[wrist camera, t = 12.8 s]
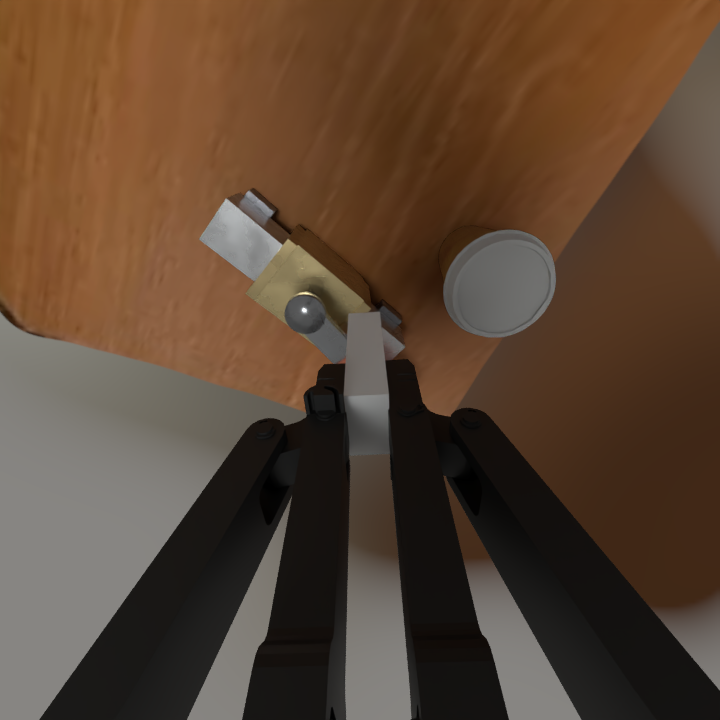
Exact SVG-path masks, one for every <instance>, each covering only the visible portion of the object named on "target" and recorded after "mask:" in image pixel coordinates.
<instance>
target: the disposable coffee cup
mask: <svg viewBox="0 0 720 720" xmlns="http://www.w3.org/2000/svg"><path fill="white" fill-rule="evenodd" d="M439 265H440V269H441V273H442V277H443V282H444V286H443V294H444V303H445V306H446V309H447V312H448V314H449V315H450V317H451V318H452V320H453V321H454V322H455V323H456V324H457V325H458V326H459V327H460V328H462V329H464V330H465V331H467V332H469V333H472V334H475V335H479V336H485V337H505V336H509V335H513V334H515V333H518V332H520V331H522V330H524V329H525V328H526V327H528V326H530V325H531V324H532V323H534V322H535V321H536V320H537V319H538V318H539V317H540V316H541V315H542V314H543V313H544V311H545V310H546V308H547V307H548V305H549V304H550V301H551V299H552V297H553V294H554V290H555V283H556V274H555V266H554V262H553V258H552V255H551V253H550V252H549V250H548V249H547V247H546V245H544V244H543V243H542V242H541V241H540V240H539V239H538V238H536V237H535V236H533V235H531V234H529V233H526V232H523V231H518V230H499V231H496V230H492V229H487V228H482V227H478V226H464V227H461V228H459V229H457V230H455V231H453V232H452V233H451V234H449V235H448V237H447V238H446V239H445V240H444V242H443V244H442V245H441V248H440V251H439Z"/></svg>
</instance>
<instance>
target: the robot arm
mask: <svg viewBox="0 0 720 720" xmlns="http://www.w3.org/2000/svg"><path fill="white" fill-rule="evenodd" d="M304 402H305V408H306V414H307V417H306V418H304V419H303V420H301V421H299V422H297V423H294V424H290V425H286V426H284V423H282V422H281V421H280V420H277V419H274V418H268V419H263V420H259V421H257V422H255V423H253V424H252V425H251V426H250V427H249V428H248V429H247V430H246V431H245V433H244V434H243V435H242V437H241V438H240V440H239V441H238V442H237V444H236V445H235V447H234V448H233V449H232V451H231V452H230V454H229V455H228V457H227V458H226V459H225V461H224V462H223V464H222V465H221V467H220V468H219V469H218V471H217V472H216V473H215V475H214V476H213V477H212V479H211V480H210V482H209V483H208V485H207V486H206V487H205V489H204V490H203V491H202V493H201V494H200V496H199V497H198V498H197V500H196V501H195V503H194V504H193V505H192V507H191V508H190V510H189V511H188V513H187V514H186V515H185V517H184V518H183V520H182V521H181V522H180V524H179V525H178V526H177V528H176V529H175V531H174V532H173V534H172V535H171V536H170V538H169V539H168V541H167V542H166V543H165V545H164V546H163V547H162V549H161V550H160V552H159V553H158V554H157V556H156V557H155V559H154V560H153V561H152V563H151V564H150V566H149V567H148V568H147V570H146V571H145V573H144V574H143V575H142V577H141V578H140V580H139V581H138V582H137V584H136V585H135V587H134V588H133V589H132V591H131V592H130V594H129V595H128V596H127V598H126V599H125V601H124V602H123V603H122V605H121V606H120V608H119V609H118V610H117V612H116V613H115V615H114V616H113V617H112V619H111V621H110V622H109V623H108V624H107V626H106V627H105V629H104V630H103V631H102V633H101V634H100V636H99V637H98V638H97V640H96V641H95V643H94V644H93V645H92V647H91V648H90V650H89V651H88V653H87V654H86V655H85V657H84V658H83V659H82V661H81V662H80V664H79V665H78V666H77V668H76V670H75V671H74V672H73V673H72V675H71V676H70V678H69V679H68V680H67V682H66V683H65V685H64V686H63V687H62V689H61V690H60V692H59V693H58V694H57V696H56V697H55V699H54V700H53V701H52V703H51V704H50V706H49V707H48V708H47V710H46V711H45V713H44V714H43V715H42V717H41V718H40V720H187V718H188V716H189V713H190V712H191V709H192V707H193V705H194V703H195V701H196V699H197V697H198V695H199V692H200V690H201V688H202V686H203V684H204V682H205V679H206V677H207V675H208V673H209V671H210V669H211V667H212V665H213V662H214V660H215V658H216V656H217V654H218V652H219V650H220V648H221V645H222V643H223V641H224V639H225V637H226V635H227V633H228V631H229V628H230V626H231V624H232V622H233V620H234V617H235V616H236V613H237V611H238V609H239V607H240V605H241V603H242V601H243V599H244V596H245V594H246V592H247V590H248V588H249V586H250V583H251V581H252V579H253V577H254V575H255V573H256V571H257V569H258V567H259V564H260V562H261V560H262V558H263V556H264V554H265V551H266V549H267V547H268V545H269V543H270V541H271V539H272V537H273V534H274V532H275V530H276V528H277V526H278V524H279V522H280V520H281V517H282V515H283V513H284V511H285V509H286V507H287V505H288V503H289V500H290V498H291V496H292V499H291V505H290V511H289V516H288V522H287V527H286V533H285V538H284V544H283V549H282V555H281V561H280V566H279V572H278V577H277V583H276V588H275V594H274V599H273V605H272V610H271V617H270V622H269V627H268V632H267V636H266V638H265V641H264V642H263V643H262V644H261V645H260V646H259V648H258V650H257V653H256V655H255V660H254V664H253V668H252V673H251V678H250V683H249V688H248V693H247V698H246V703H245V708H244V713H243V719H242V720H346V704H345V663H346V622H347V580H348V539H349V538H348V537H349V496H350V460H349V453H350V456H351V455H373V454H390V470H391V480H392V489H393V501H394V511H395V523H396V535H397V546H398V558H399V569H400V580H401V592H402V603H403V613H404V625H405V637H406V648H407V660H408V671H409V683H410V696H411V697H410V698H411V716H412V719H411V720H509V718H508V714H507V710H506V707H505V702H504V698H503V694H502V690H501V686H500V683H499V679H498V674H497V670H496V666H495V662H494V659H493V655H492V652H491V648H490V646H489V644H488V641H487V639H486V638H485V637H484V636H483V635H482V633H481V631H480V628H479V624H478V621H477V616H476V612H475V608H474V604H473V600H472V595H471V591H470V587H469V583H468V579H467V574H466V570H465V566H464V562H463V558H462V553H461V549H460V545H459V541H458V536H457V533H456V528H455V524H454V519H453V515H452V511H451V507H450V502H449V498H448V494H447V490H446V486H445V481H444V477H443V475H444V476H446V478H447V481H448V482H449V484H450V486H451V488H452V490H453V491H454V493H455V495H456V497H457V499H458V500H459V502H460V504H461V506H462V508H463V509H464V511H465V513H466V515H467V516H468V518H469V520H470V522H471V524H472V525H473V527H474V529H475V530H476V532H477V534H478V536H479V538H480V539H481V541H482V543H483V545H484V547H485V548H486V550H487V552H488V554H489V556H490V557H491V559H492V561H493V563H494V565H495V566H496V568H497V570H498V572H499V573H500V575H501V577H502V579H503V580H504V582H505V584H506V586H507V587H508V589H509V591H510V593H511V595H512V596H513V598H514V600H515V602H516V604H517V605H518V607H519V609H520V611H521V613H522V614H523V616H524V618H525V620H526V621H527V623H528V625H529V627H530V629H531V630H532V632H533V634H534V636H535V637H536V639H537V641H538V643H539V645H540V646H541V648H542V650H543V652H544V653H545V655H546V657H547V659H548V660H549V662H550V664H551V666H552V668H553V669H554V671H555V673H556V675H557V676H558V678H559V680H560V682H561V684H562V686H563V687H564V689H565V691H566V692H567V694H568V696H569V698H570V700H571V701H572V703H573V705H574V707H575V709H576V710H577V712H578V714H579V716H580V718H581V719H582V720H720V690H719V689H718V688H717V687H716V686H715V684H714V683H713V682H712V681H711V680H710V679H709V677H708V676H707V675H706V674H705V673H704V671H703V670H702V669H701V668H700V667H699V665H698V664H697V663H696V662H695V661H694V660H693V658H691V656H690V655H689V654H688V652H687V651H686V650H685V649H684V648H683V646H682V645H681V644H680V643H679V642H678V640H677V639H676V638H675V637H674V636H673V634H672V633H671V632H670V631H669V630H668V629H667V627H666V626H665V625H664V624H663V623H662V621H661V620H660V619H659V618H658V617H657V616H656V614H655V613H654V612H653V611H652V610H651V608H650V607H649V606H648V605H647V604H646V602H645V601H644V600H643V599H642V598H641V596H640V595H639V594H638V593H637V592H636V590H635V589H634V588H633V587H632V586H631V584H630V583H629V582H628V581H627V580H626V579H625V577H624V576H623V575H622V574H621V573H620V571H619V570H618V569H617V568H616V567H615V565H614V564H613V563H612V562H611V561H610V560H609V558H608V557H607V556H606V555H605V554H604V552H603V551H602V550H601V549H600V548H599V546H598V545H597V544H596V543H595V542H594V541H593V539H592V538H591V537H590V536H589V535H588V533H587V532H586V531H585V530H584V529H583V528H582V526H581V525H580V524H579V523H578V521H577V520H576V519H575V518H574V517H573V515H572V514H571V513H570V512H569V511H568V510H567V508H566V507H565V506H564V505H563V504H562V502H560V500H559V499H558V498H557V496H556V495H555V494H554V493H553V492H552V490H550V488H549V487H548V486H547V485H546V483H545V482H544V481H543V480H542V479H541V477H540V476H539V475H538V474H537V473H536V471H535V470H534V469H533V468H532V467H531V466H530V464H529V463H528V462H527V461H526V460H525V458H524V457H523V456H522V455H521V454H520V452H519V451H518V450H517V449H516V448H515V446H514V445H513V444H512V443H511V442H510V441H509V439H508V438H507V437H506V436H505V434H504V433H503V432H502V431H501V430H500V429H499V427H498V426H497V425H496V424H495V423H494V421H493V420H492V419H491V418H490V417H489V416H488V415H487V414H486V413H484V412H482V411H480V410H478V409H473V408H461V409H459V410H456V411H455V412H454V413H453V414H452V415H451V417H448V416H442V415H438V414H435V413H433V412H431V411H429V410H428V409H427V407H426V406H425V404H423V402H422V398H421V393H420V389H419V384H418V381H417V376H416V371H415V367H414V365H413V364H412V363H411V362H410V361H409V360H408V359H402V360H385V355H384V346H383V337H382V328H381V318H380V312H367V313H349V314H348V331H347V348H346V363H341V364H324V365H323V367H322V368H321V369H320V370H319V371H318V376H317V382H316V386H313V387H311V388H309V389H308V390H307V391H306V392H305V394H304Z"/></svg>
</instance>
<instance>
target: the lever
mask: <svg viewBox="0 0 720 720" xmlns="http://www.w3.org/2000/svg"><path fill="white" fill-rule="evenodd" d="M284 314H285V320H286V322H287V324H288V325H289V327H290V328H291V329H293V330H294V331H296V332H298V333H301V334H305V335H306V336H307V337H308V338H309V340H310V341H311V342H312V343H313V344H314V345H315V346H316V347H317V348H318V349H319V350H320V351H321V352H322V353H323V354H324V355H325V356H326V357H327V358H328V359H329V360H330V361H331V362H332V363H333V364H341V363H346V348H347V335H346V333H345V332H344V331H343V330H342V329H341V328H340V327H339V326H338V325H337V324H336V323H335V322H334V321H333V319H332V318H331V317H330V316H329V315H328V314H327V313H326V307H325V305H324V303H323V301H322V300H321V299H320V298H319V297H318V296H316V295H315V294H312V293H308V292H302V293H298V294H296V295H294V296H293V297H291V298H290V300H289V301H288V303H287V306H286V308H285V313H284Z"/></svg>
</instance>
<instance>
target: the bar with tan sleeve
mask: <svg viewBox="0 0 720 720" xmlns="http://www.w3.org/2000/svg"><path fill="white" fill-rule="evenodd" d="M276 210H277V208H276V207H275V206H273V205H272V204H271V203H270V202H269V201H268V200H267V199H265V198H264V197H263V196H262V195H261V194H260V193H258V192H257V191H256V190H255V189H254V188H252V189H250V190H248V192H247V193H246V195H245V196H244V195H243V194H241V193H238V194H235V195H233V196H231V197H228V198H226V200H225V201H224V203H223V204H222V206H221V207H220V209H219V210H218V212H217V213H216V215H215V216H214V218H213V219H212V221H211V222H210V224H209V225H208V227H207V228H206V230H205V231H204V233H203V234H202V236H201V237H200V239H199V240H201V241H202V242H203V243H205V244H206V245H207V246H209V247H210V248H211V249H213V250H214V251H215V252H216V253H218V254H219V255H220V256H222V257H223V258H224V259H226V260H227V261H228V262H230V263H231V264H232V265H233V266H235V267H236V268H237V269H239V270H240V271H241V272H243V273H244V274H245V275H247V276H248V277H249V278H251V279H252V280H253V281H254V283H253V284H252V285H251V287H250V288H249V289H248V291H247V292H246V295H248V296H249V297H250V298H252V299H253V300H254V301H256V302H257V303H258V304H260V305H261V306H263V307H264V308H265V309H267V310H268V311H269V312H271V313H272V314H273V315H275V316H276V317H277V318H279V319H280V320H281V321H283V322H284V323H285V324H287V322H286V320H285V314H284V313H285V308H286V306H287V303H288V301H289V300H290V298H291V297H293V296H294V295H296V294H298V293H302V292H308V293H312V294H315V295H316V296H318V297H319V298H320V299H321V300H322V301H323V303H324V305H325V307H326V313H327V314H328V315H329V316H330V317H331V318H332V319H333V321H334V322H335V323H336V324H337V325H338V326H339V327H340V328H341V329H342V330H343V331H344V332H345V333H346V335H347V331H348V314H349V313H367V312H380V318H381V328H382V337H383V346H384V355H385V360H392V359H393V358H394V357H395V356H396V355H397V354H398V353H399V352H400V351H402V350H403V349H404V348H405V343H404V339H403V335H402V331H401V328H400V327H399V326H398V325H399V324H400V323H401V322H402V319H401V315H400V314H399V313H398V312H396V311H395V310H394V309H393V308H392V307H391V306H390V305H388V304H387V303H386V302H385V301H384V300H383V299H382V300H381V301H380V302H379V303H378V304H377V305H376V306H374V305H373V304H372V303H371V300H370V290H369V285H368V284H367V283H365V282H364V281H363V277H362V276H361V275H360V274H359V273H358V272H357V271H356V270H354V269H353V268H352V267H351V266H350V265H349V264H348V263H346V262H345V261H344V260H343V259H342V258H341V257H339V256H338V255H337V254H336V253H335V252H334V251H333V250H331V249H330V248H329V247H328V246H327V245H326V244H324V243H323V242H322V241H321V240H320V239H319V238H318V237H316V236H315V235H314V234H313V233H312V232H311V231H310V230H308V229H306V231H305V230H304V229H303V228H302V227H301V226H299V225H297V226H296V228H295V229H294V230H293V231H292V233H291V234H289V233H288V232H286V231H285V230H284V229H283V228H282V227H280V226H279V225H278V224H277V223H276V222H275V221H273V220H272V219H271V217H272V216H273V215H274V213H275V212H276ZM287 325H288V324H287ZM288 326H289V325H288ZM299 334H300V335H302V336H303V337H304V338H306V339H307V340H308V341H310V340H309V338H308V337H307V336H306V335H305V334H301V333H299ZM310 342H311V341H310ZM311 343H312V342H311ZM312 344H313V343H312Z"/></svg>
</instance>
